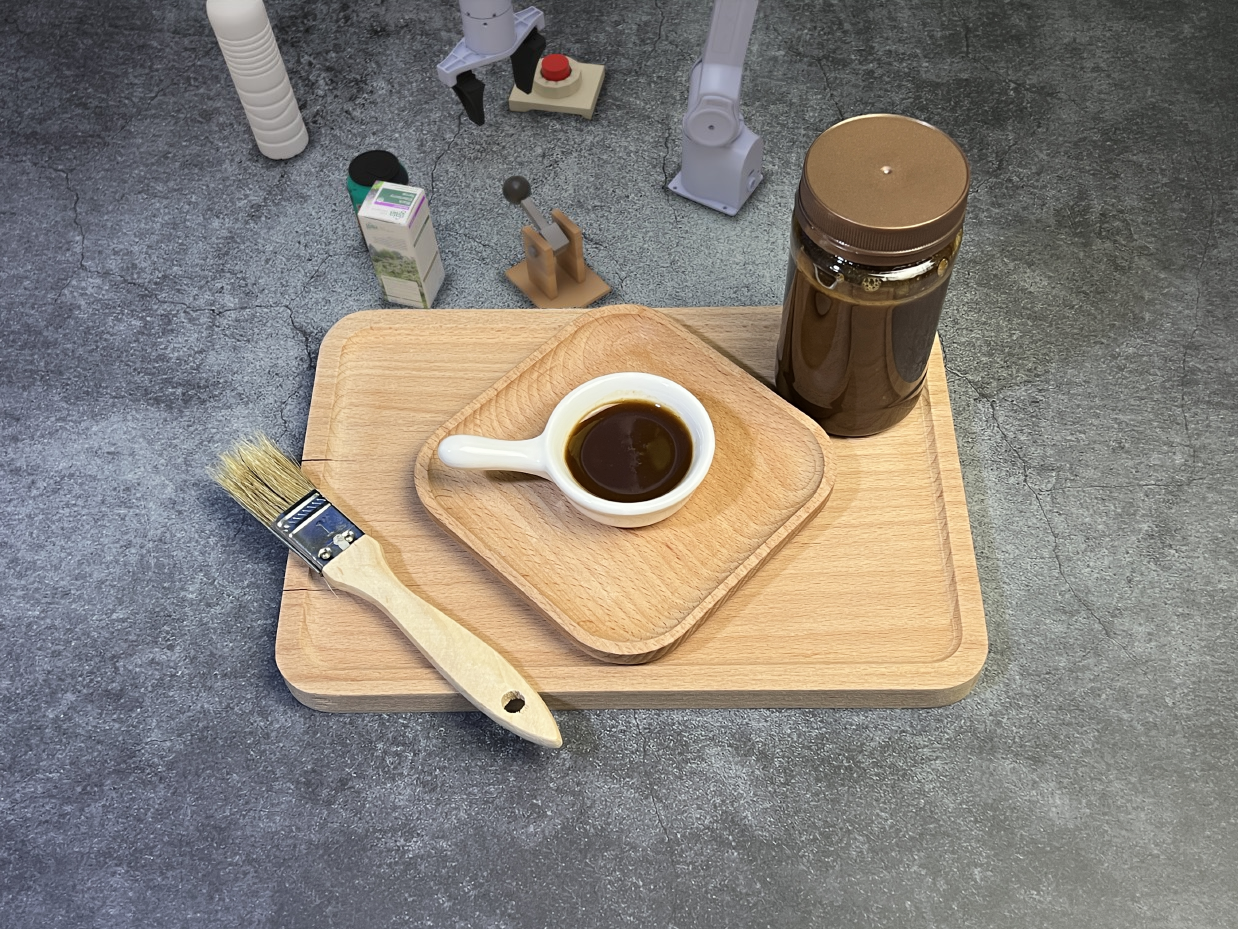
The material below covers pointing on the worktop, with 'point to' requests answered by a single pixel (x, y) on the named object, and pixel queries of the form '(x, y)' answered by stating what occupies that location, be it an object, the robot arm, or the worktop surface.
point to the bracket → (556, 270)
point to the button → (555, 67)
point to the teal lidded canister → (373, 176)
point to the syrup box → (402, 243)
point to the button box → (562, 91)
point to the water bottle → (259, 75)
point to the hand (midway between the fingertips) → (500, 105)
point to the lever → (534, 213)
